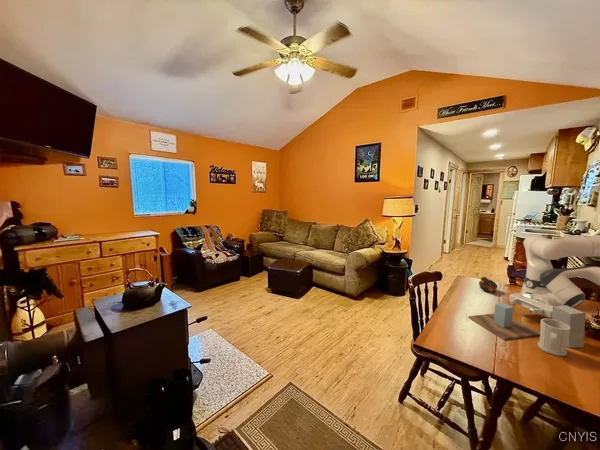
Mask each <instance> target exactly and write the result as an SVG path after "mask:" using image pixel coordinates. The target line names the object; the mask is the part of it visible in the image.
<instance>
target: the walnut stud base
mask: <svg viewBox="0 0 600 450" xmlns="http://www.w3.org/2000/svg"><path fill="white" fill-rule="evenodd" d="M467 317H468V319H469V320H470V321H472V322H474V323H475V324H478V325H479V326H480V327H481V328H483V329H485V330H486V331H488V332H490V333H492V334H493V335H495V336H496V337H498V338H499V339H501V340H503V341H508V340H516V339H524V338H531V337H532V336H534V337H540V336H539V335H540V332H539V331H537V330H536V329H534V328H531V327H529V326H527V325H525V324H523V323H522V322H519V321H518V320H517V319H514V318H512V326H510V327H505V328H503V327H501V326H499V325H497V324H495V323H494V313H487V314H475V315H469V316H468V315H467ZM532 338H533V337H532Z"/></svg>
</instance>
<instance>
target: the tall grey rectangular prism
mask: <svg viewBox="0 0 600 450" xmlns="http://www.w3.org/2000/svg"><path fill="white" fill-rule="evenodd" d="M494 305H495V306H494V313H493V314H494V323H495V324H497V325H499V326H501V327H503V328H505V327H510V326H512V319H514V317H513V316H514V307H513V306H511V305H510V304H507V303H505V302H500V303H499V302H498V303H495V304H494Z"/></svg>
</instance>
